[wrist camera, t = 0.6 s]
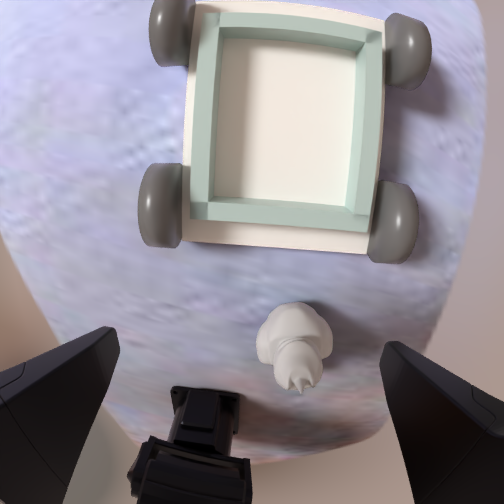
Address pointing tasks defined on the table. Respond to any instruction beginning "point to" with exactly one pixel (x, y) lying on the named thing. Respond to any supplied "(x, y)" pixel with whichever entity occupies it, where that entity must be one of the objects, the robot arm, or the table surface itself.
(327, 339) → the white figurine
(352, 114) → the toy chassis
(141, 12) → the table surface
